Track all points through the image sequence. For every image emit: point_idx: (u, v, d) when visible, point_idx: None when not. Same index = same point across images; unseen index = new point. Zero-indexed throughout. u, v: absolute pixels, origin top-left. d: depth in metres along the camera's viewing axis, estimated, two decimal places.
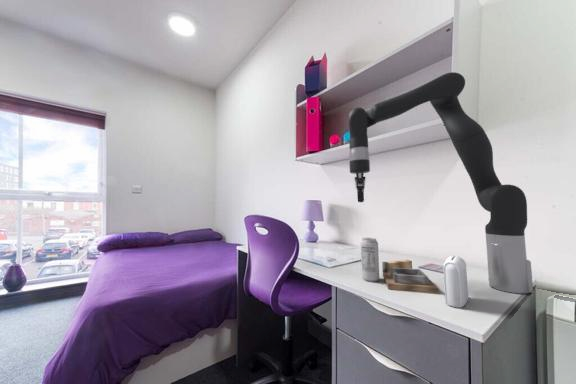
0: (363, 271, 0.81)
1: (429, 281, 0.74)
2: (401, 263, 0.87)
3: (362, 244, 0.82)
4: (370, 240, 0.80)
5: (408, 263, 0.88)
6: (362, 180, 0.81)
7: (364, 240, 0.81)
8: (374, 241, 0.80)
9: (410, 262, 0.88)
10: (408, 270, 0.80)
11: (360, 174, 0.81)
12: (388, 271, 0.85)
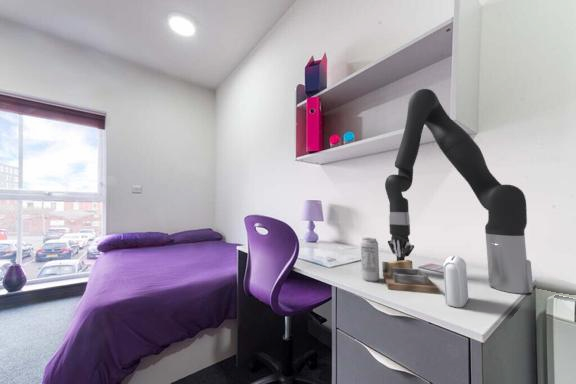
0: (363, 271, 0.81)
1: (429, 281, 0.74)
2: (401, 263, 0.87)
3: (362, 244, 0.82)
4: (370, 240, 0.80)
5: (408, 263, 0.88)
6: None
7: (364, 240, 0.81)
8: (374, 241, 0.80)
9: (410, 262, 0.88)
10: (408, 270, 0.80)
11: None
12: (388, 271, 0.85)
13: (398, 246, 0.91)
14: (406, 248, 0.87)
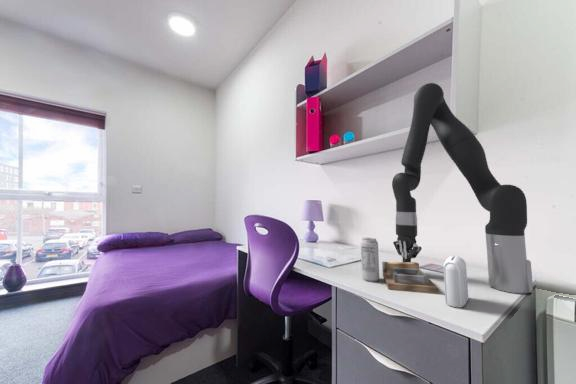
0: (363, 271, 0.81)
1: (429, 281, 0.74)
2: (404, 265, 0.84)
3: (362, 244, 0.82)
4: (370, 240, 0.80)
5: (414, 265, 0.84)
6: None
7: (364, 240, 0.81)
8: (374, 241, 0.80)
9: (417, 265, 0.84)
10: (408, 270, 0.80)
11: None
12: (387, 271, 0.84)
13: (404, 247, 0.87)
14: (413, 250, 0.84)
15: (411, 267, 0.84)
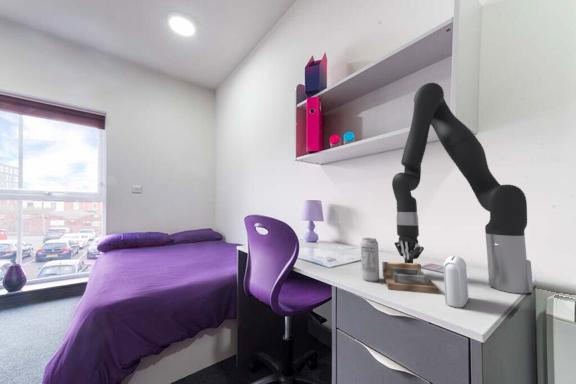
0: (363, 271, 0.81)
1: (429, 281, 0.74)
2: (405, 265, 0.83)
3: (362, 244, 0.82)
4: (370, 240, 0.80)
5: (415, 266, 0.82)
6: None
7: (364, 240, 0.81)
8: (374, 241, 0.80)
9: (418, 266, 0.82)
10: (408, 270, 0.80)
11: None
12: (387, 271, 0.84)
13: (406, 248, 0.86)
14: (415, 250, 0.82)
15: (412, 268, 0.83)
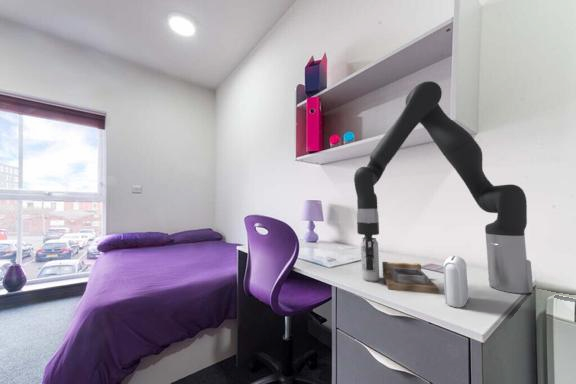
0: (363, 271, 0.81)
1: (429, 281, 0.74)
2: (405, 265, 0.83)
3: (362, 244, 0.82)
4: None
5: (415, 266, 0.82)
6: None
7: (364, 240, 0.82)
8: (374, 241, 0.80)
9: (418, 266, 0.82)
10: (408, 270, 0.80)
11: None
12: (387, 271, 0.84)
13: None
14: None
15: (412, 268, 0.83)
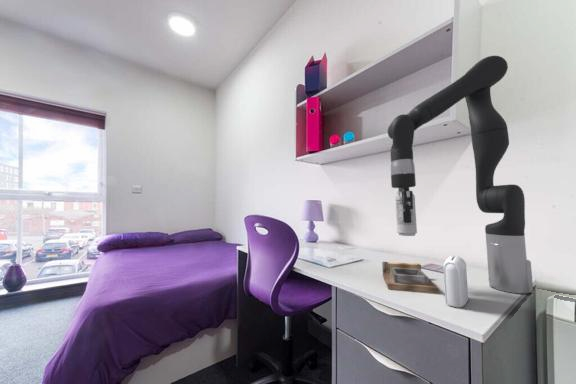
0: (399, 225, 0.77)
1: (429, 281, 0.74)
2: (405, 265, 0.83)
3: (397, 197, 0.77)
4: None
5: (415, 266, 0.82)
6: None
7: None
8: None
9: (418, 266, 0.82)
10: (408, 270, 0.80)
11: None
12: (387, 271, 0.84)
13: None
14: (403, 196, 0.73)
15: (412, 268, 0.83)
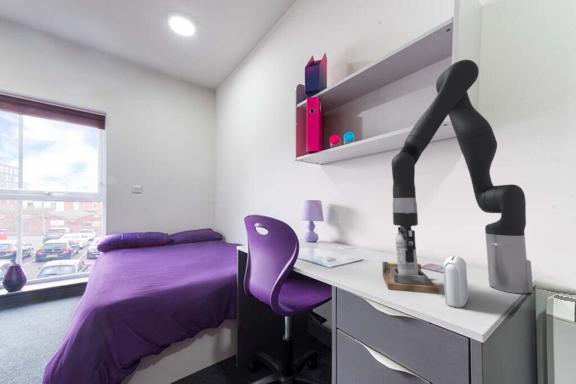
0: (401, 269, 0.75)
1: (429, 281, 0.74)
2: None
3: (398, 240, 0.77)
4: None
5: None
6: None
7: (399, 236, 0.77)
8: None
9: (418, 266, 0.82)
10: None
11: None
12: (387, 271, 0.84)
13: None
14: (405, 235, 0.72)
15: None
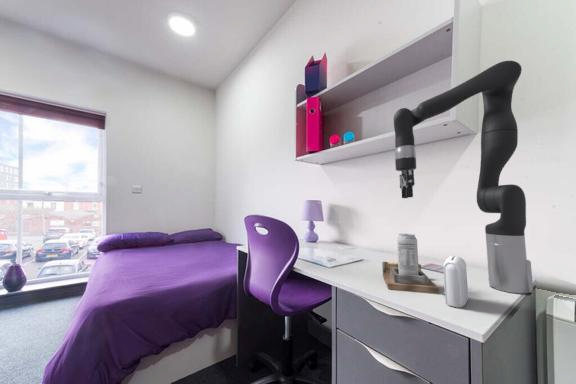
0: (401, 269, 0.75)
1: (429, 281, 0.74)
2: None
3: (400, 240, 0.76)
4: (409, 236, 0.75)
5: None
6: None
7: (402, 236, 0.76)
8: (413, 237, 0.75)
9: (418, 266, 0.82)
10: None
11: None
12: (387, 271, 0.84)
13: (402, 179, 0.90)
14: (406, 174, 0.86)
15: None
